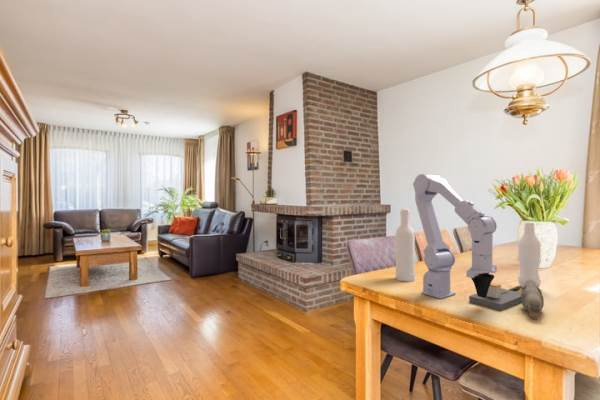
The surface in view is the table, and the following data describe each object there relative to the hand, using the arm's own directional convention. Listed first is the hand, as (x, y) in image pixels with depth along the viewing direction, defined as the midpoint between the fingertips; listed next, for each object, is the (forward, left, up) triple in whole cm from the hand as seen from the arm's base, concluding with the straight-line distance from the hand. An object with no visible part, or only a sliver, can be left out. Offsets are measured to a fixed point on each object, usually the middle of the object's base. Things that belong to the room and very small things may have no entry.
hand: (481, 296), depth 103 cm
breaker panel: (+11, 0, -3) cm, 11 cm away
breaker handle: (+7, 0, -1) cm, 7 cm away
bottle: (+8, +36, -4) cm, 37 cm away
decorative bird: (+9, -10, -4) cm, 15 cm away
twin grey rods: (+26, 0, -3) cm, 26 cm away
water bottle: (+37, +1, -4) cm, 37 cm away
